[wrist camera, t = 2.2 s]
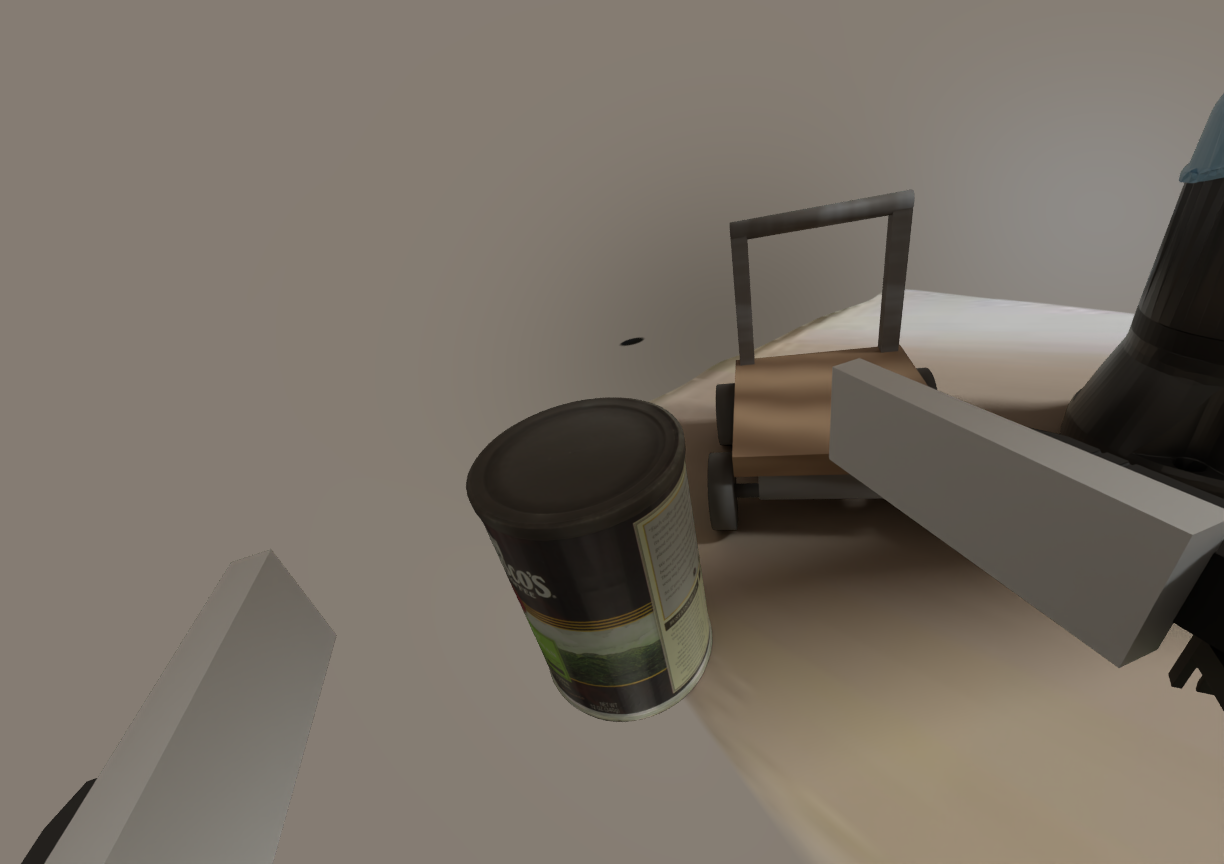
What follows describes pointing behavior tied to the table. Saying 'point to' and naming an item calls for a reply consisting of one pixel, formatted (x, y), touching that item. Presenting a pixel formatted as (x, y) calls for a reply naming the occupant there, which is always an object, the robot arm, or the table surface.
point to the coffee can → (601, 551)
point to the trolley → (800, 376)
